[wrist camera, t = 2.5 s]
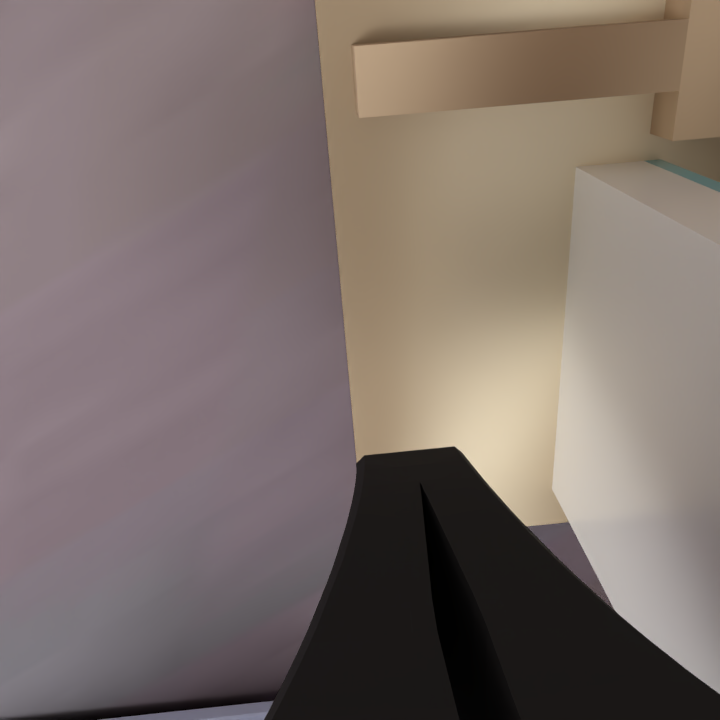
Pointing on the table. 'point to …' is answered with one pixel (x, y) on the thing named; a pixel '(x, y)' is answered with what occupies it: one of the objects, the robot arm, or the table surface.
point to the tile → (646, 400)
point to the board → (469, 241)
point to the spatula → (556, 69)
